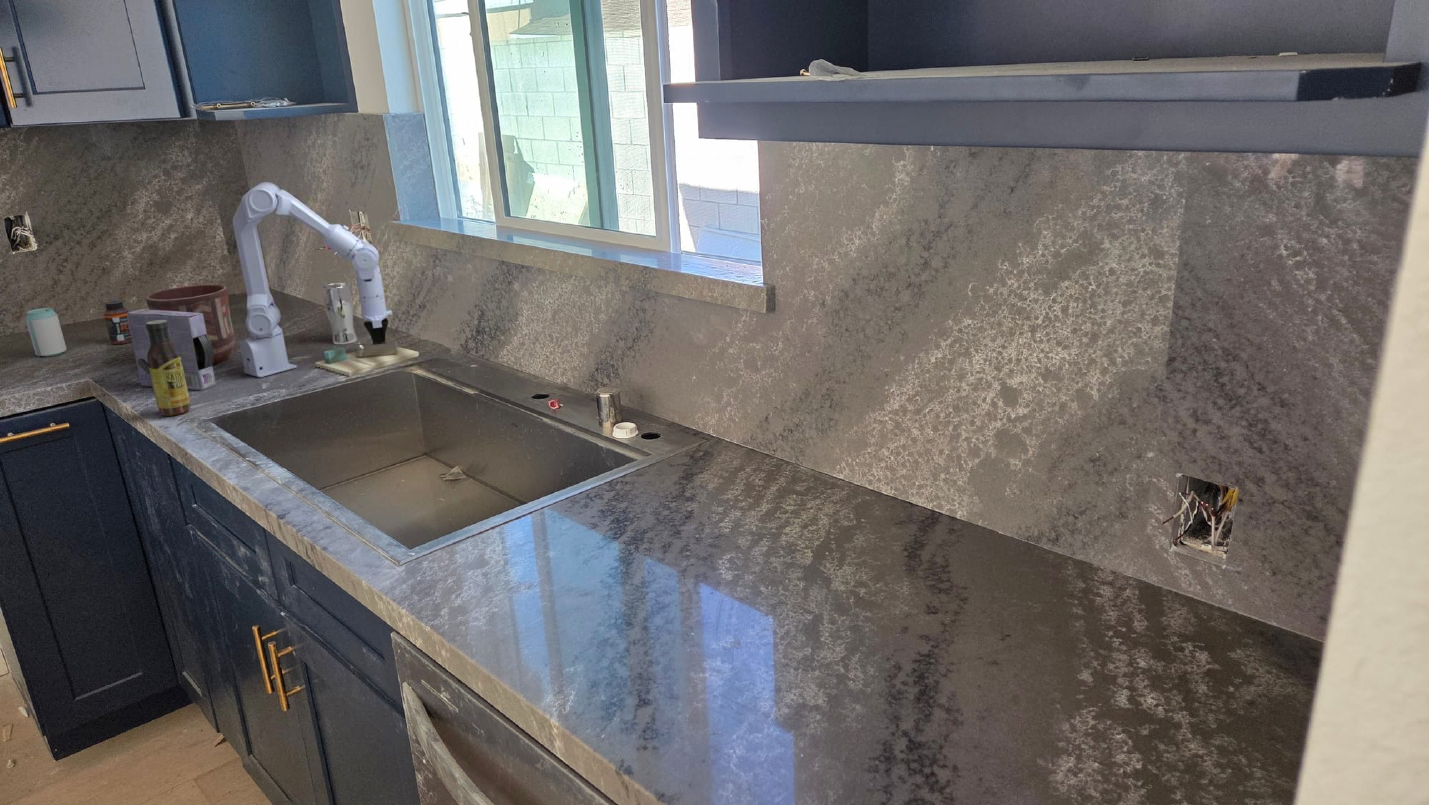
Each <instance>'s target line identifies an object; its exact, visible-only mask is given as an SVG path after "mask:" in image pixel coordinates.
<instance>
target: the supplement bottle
mask: <svg viewBox="0 0 1429 805" xmlns="http://www.w3.org/2000/svg"><path fill="white" fill-rule="evenodd" d="M104 304H105V305H104V306H105V308H106V309H105V311H104V312H103V316H104V317H103V318H104V322H105V325H106V330H107V333H108V334H107V335H108V337H109V341H110V344H112V345H124V344H125V345H126V344H129V343H132V338H131V333H130V328H129V323H128V318H127V313H128V312H129V309H128V308H126V307H124V304H123V301H122V300H110V301H107V302H105V303H104Z"/></svg>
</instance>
